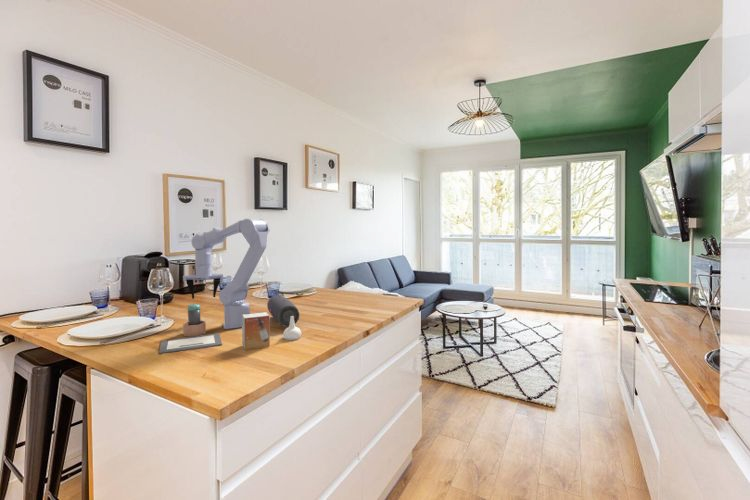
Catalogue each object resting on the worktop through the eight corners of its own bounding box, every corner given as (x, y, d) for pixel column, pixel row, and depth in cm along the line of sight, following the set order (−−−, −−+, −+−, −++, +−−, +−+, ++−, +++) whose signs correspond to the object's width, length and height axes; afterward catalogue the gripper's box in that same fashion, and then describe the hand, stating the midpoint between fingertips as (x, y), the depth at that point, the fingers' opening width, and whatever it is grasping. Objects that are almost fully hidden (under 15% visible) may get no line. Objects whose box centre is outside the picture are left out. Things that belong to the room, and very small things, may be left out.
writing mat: (219, 334, 127) (219, 332, 127) (221, 345, 116) (221, 343, 116) (162, 341, 119) (161, 340, 119) (158, 354, 107) (158, 352, 107)
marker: (200, 330, 130) (199, 303, 130) (201, 332, 127) (200, 305, 126) (188, 331, 129) (187, 304, 128) (188, 334, 125) (187, 307, 124)
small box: (244, 350, 111) (243, 318, 110) (242, 345, 116) (241, 314, 115) (270, 346, 114) (269, 315, 114) (267, 341, 119) (266, 311, 118)
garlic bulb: (283, 337, 126) (281, 315, 125) (301, 334, 127) (298, 313, 127) (283, 342, 120) (281, 320, 119) (302, 339, 121) (299, 317, 120)
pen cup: (205, 329, 133) (205, 319, 132) (206, 334, 126) (205, 324, 126) (183, 332, 129) (183, 321, 129) (183, 337, 123) (182, 326, 123)
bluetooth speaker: (265, 317, 151) (265, 294, 150) (287, 314, 155) (287, 292, 154) (276, 331, 130) (276, 305, 130) (301, 328, 135) (300, 303, 134)
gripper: (222, 262, 147) (222, 294, 148) (183, 263, 141) (183, 296, 142) (223, 264, 141) (223, 297, 142) (182, 265, 134) (183, 300, 135)
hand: (203, 297), depth 141 cm, fingers open, 7 cm apart
